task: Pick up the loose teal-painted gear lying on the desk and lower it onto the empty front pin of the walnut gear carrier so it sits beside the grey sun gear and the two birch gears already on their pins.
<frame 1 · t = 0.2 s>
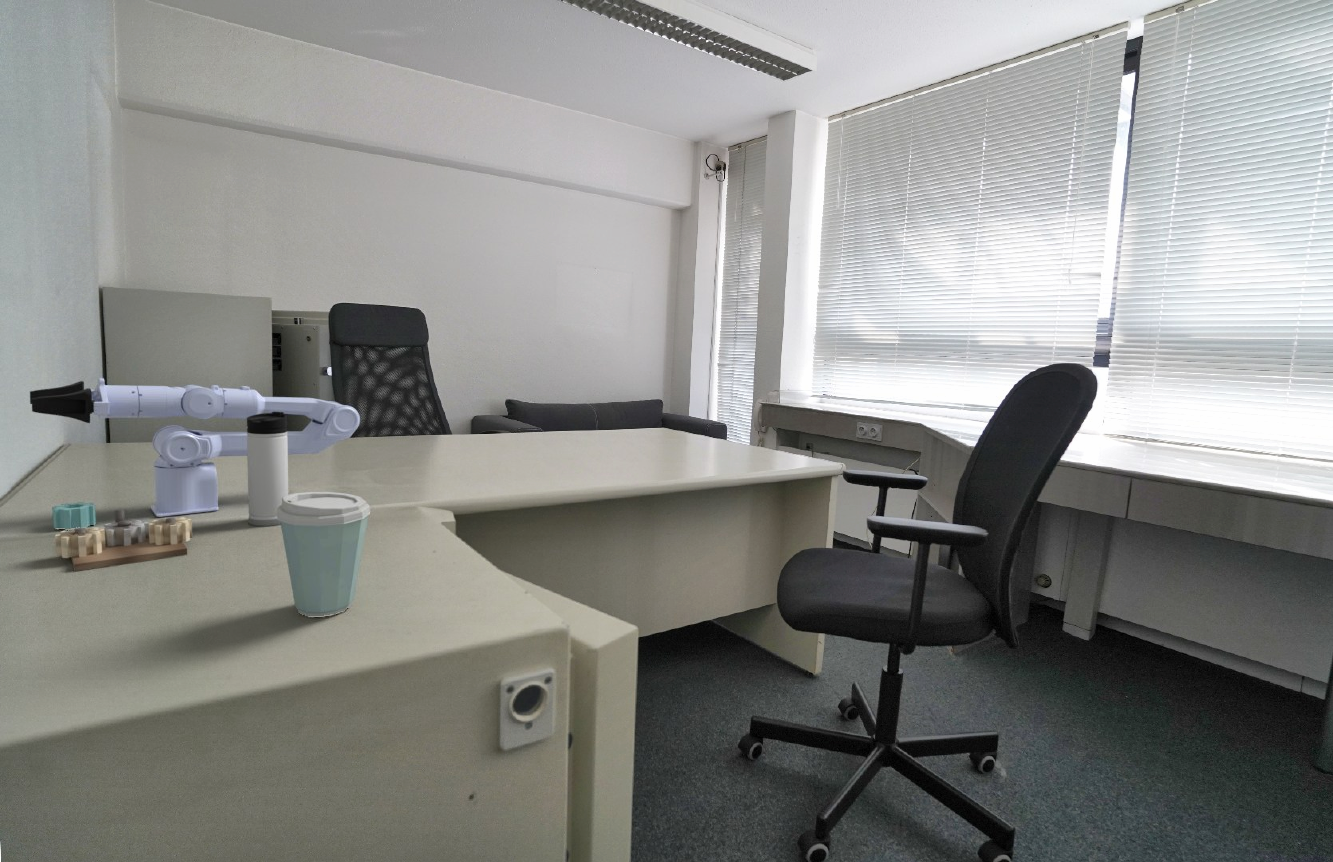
hand: (30, 401, 108), 21 cm above the table, tool horizontal, fingers open, 7 cm apart
travel mug: (269, 522, 121), on the table
disposable coffee cup: (325, 610, 86), on the table
teal gear: (74, 526, 112), on the table
carrier: (125, 546, 104), on the table
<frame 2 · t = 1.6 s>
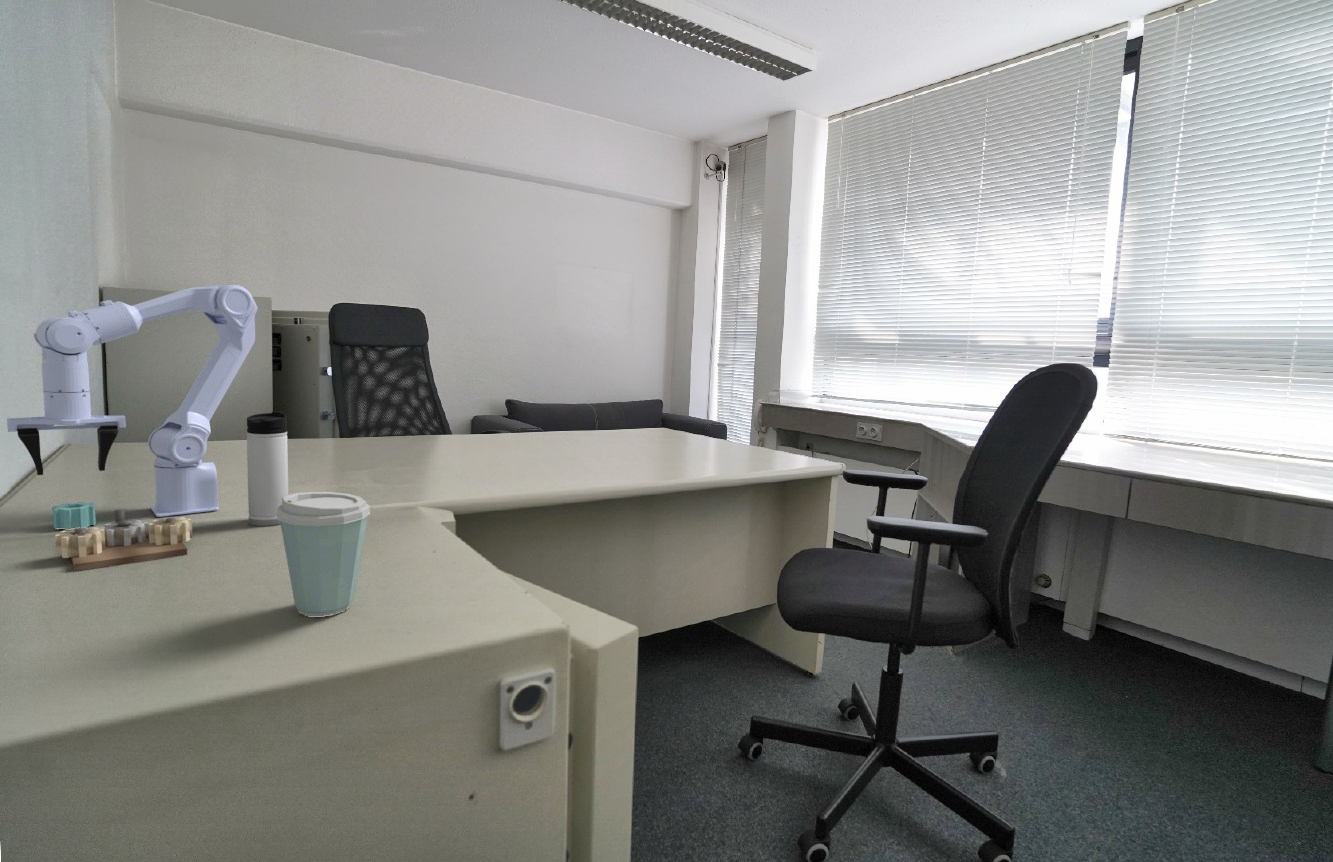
hand: (71, 471, 111), 9 cm above the table, tool pointing down, fingers open, 7 cm apart
nothing on the table moved.
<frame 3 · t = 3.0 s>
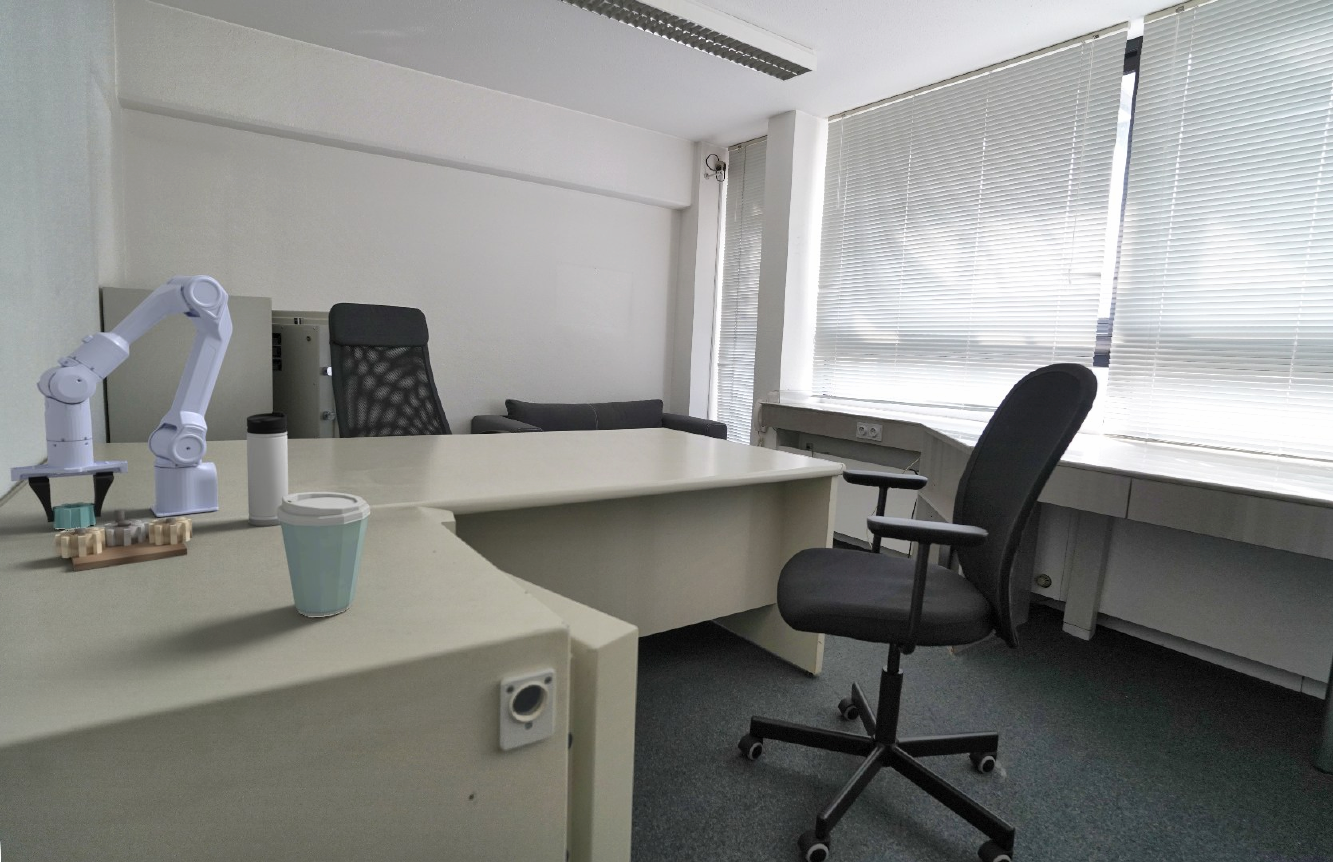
hand: (74, 518, 112), 1 cm above the table, tool pointing down, fingers closed on teal gear, 5 cm apart
teal gear: (74, 526, 112), on the table, touching gripper
everything else where it was.
when the fingers open (4 cm above the table, at t = 6.4 s): teal gear drops 1 cm, resting on carrier.
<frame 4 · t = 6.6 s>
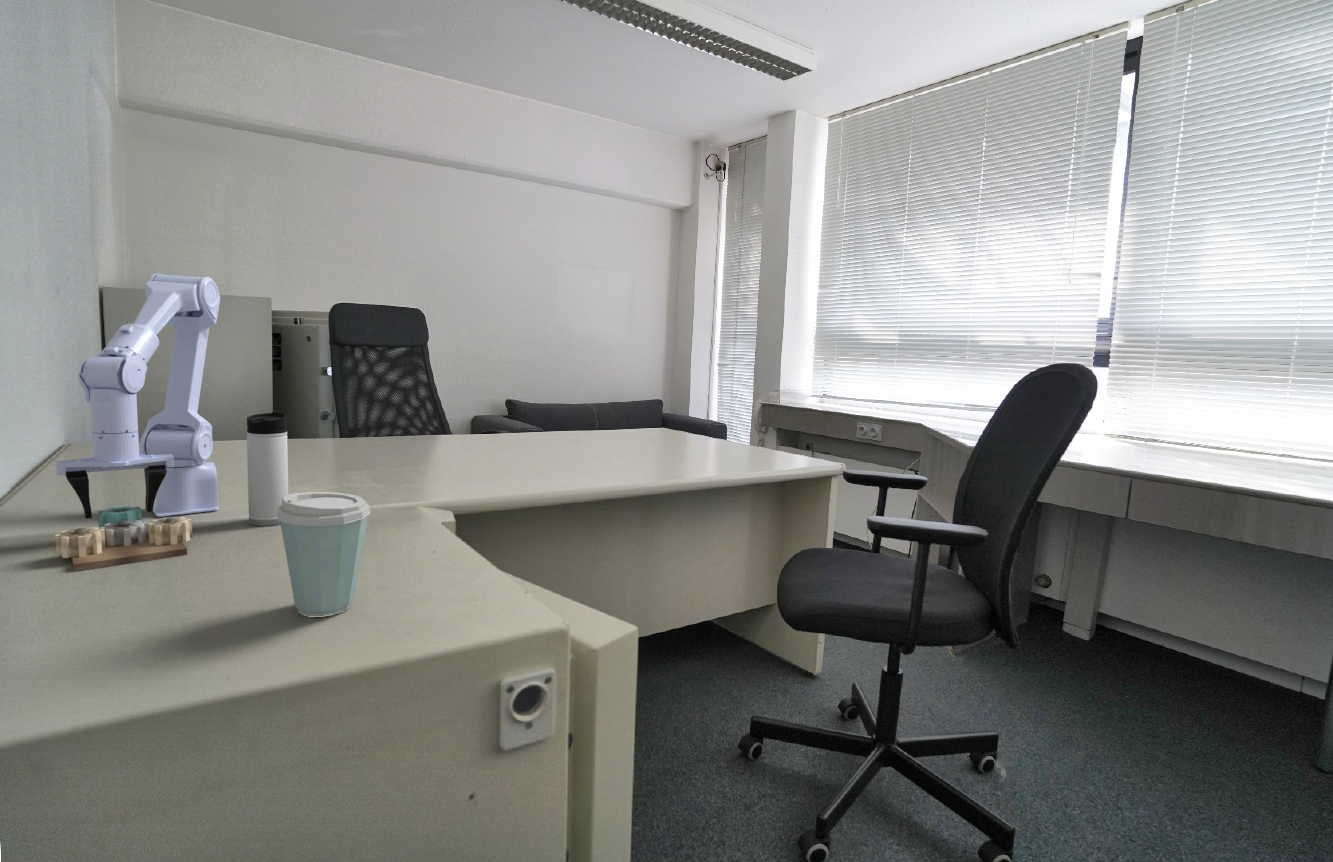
hand: (119, 513, 108), 4 cm above the table, tool pointing down, fingers open, 7 cm apart
teal gear: (121, 531, 108), point 1 cm above the table, touching carrier
everything else where it was.
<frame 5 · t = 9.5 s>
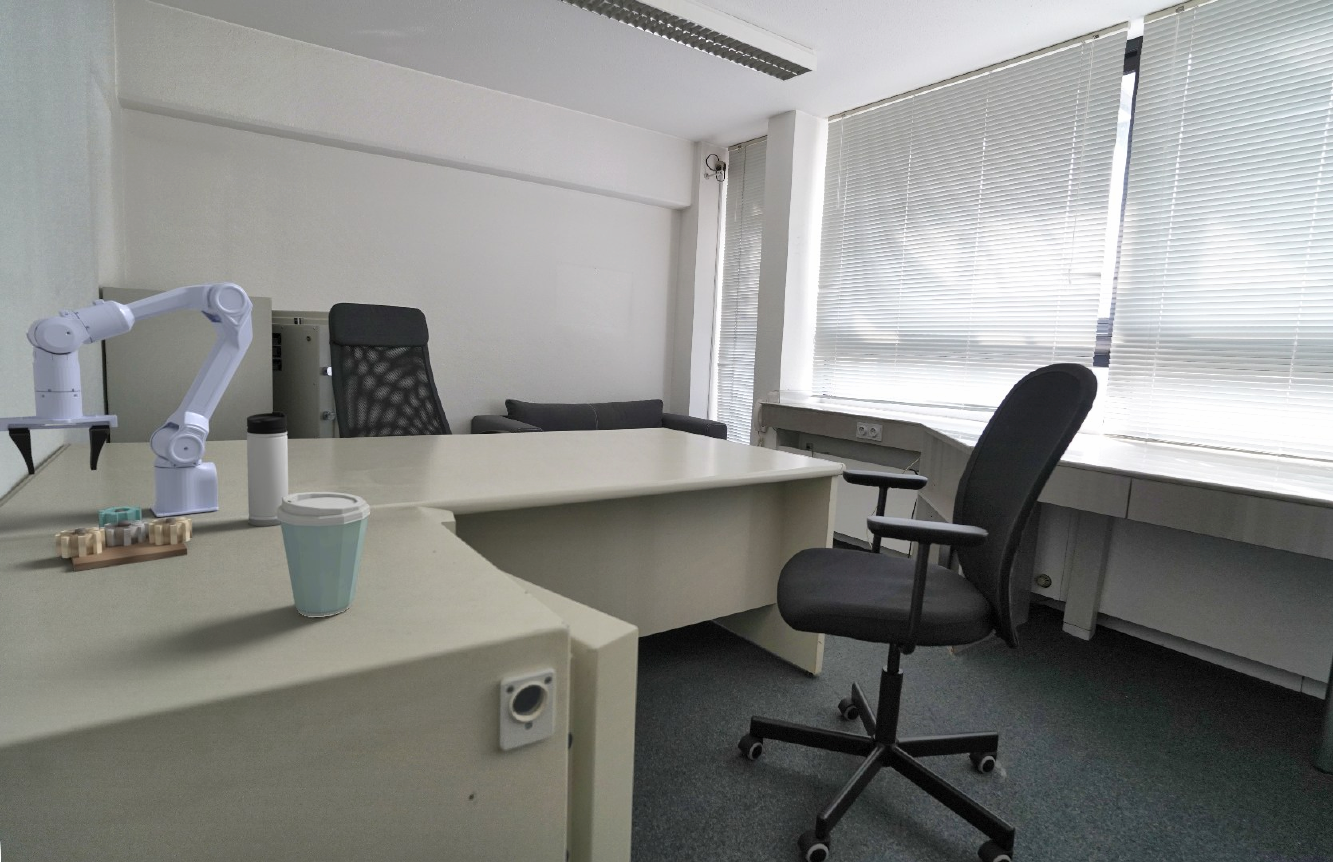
hand: (63, 471, 111), 9 cm above the table, tool pointing down, fingers open, 7 cm apart
nothing on the table moved.
at the end: teal gear 0.1 cm from the target spot on the carrier, point 1.0 cm above the carrier's base; teal gear tilted 0°; the gripper is holding nothing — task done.
